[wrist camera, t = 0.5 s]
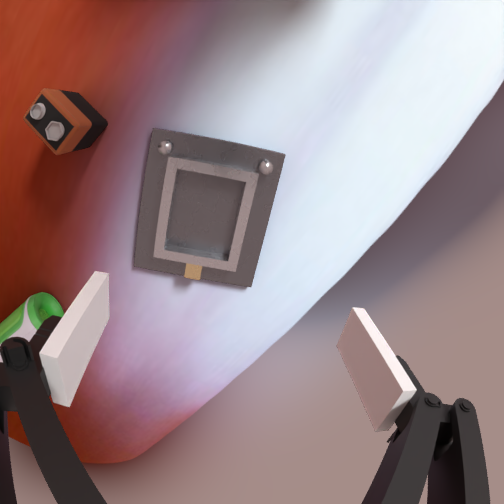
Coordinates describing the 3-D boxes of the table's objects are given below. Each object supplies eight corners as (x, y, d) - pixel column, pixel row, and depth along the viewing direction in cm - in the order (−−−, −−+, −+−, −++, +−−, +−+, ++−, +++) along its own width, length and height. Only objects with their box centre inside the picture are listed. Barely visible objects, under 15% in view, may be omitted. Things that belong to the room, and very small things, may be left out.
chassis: (155, 128, 36) (149, 128, 33) (283, 153, 38) (288, 156, 35) (136, 262, 42) (130, 272, 39) (250, 283, 45) (252, 294, 42)
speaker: (22, 351, 47) (5, 376, 40) (-3, 322, 44) (-22, 345, 37) (73, 315, 45) (56, 344, 38) (45, 280, 42) (22, 305, 35)
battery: (88, 149, 36) (52, 158, 26) (57, 116, 33) (15, 119, 24) (110, 123, 35) (77, 125, 26) (77, 91, 32) (38, 85, 23)
